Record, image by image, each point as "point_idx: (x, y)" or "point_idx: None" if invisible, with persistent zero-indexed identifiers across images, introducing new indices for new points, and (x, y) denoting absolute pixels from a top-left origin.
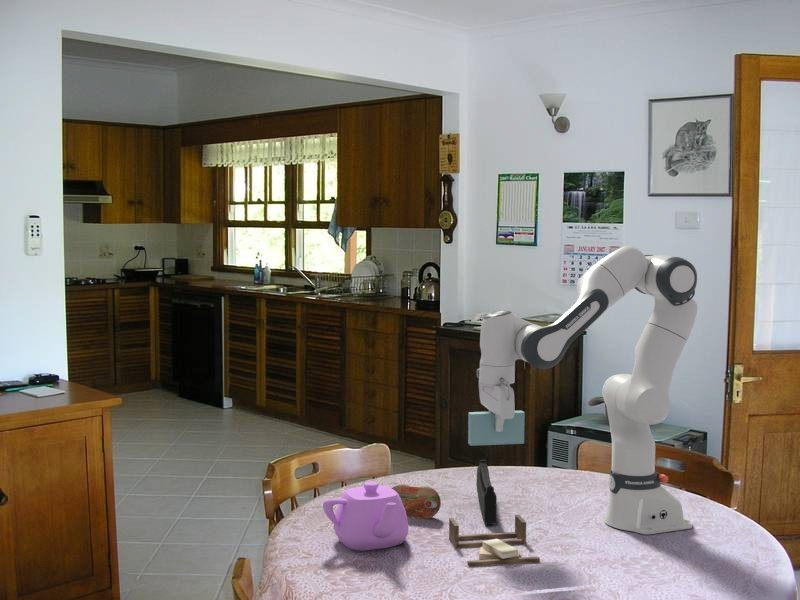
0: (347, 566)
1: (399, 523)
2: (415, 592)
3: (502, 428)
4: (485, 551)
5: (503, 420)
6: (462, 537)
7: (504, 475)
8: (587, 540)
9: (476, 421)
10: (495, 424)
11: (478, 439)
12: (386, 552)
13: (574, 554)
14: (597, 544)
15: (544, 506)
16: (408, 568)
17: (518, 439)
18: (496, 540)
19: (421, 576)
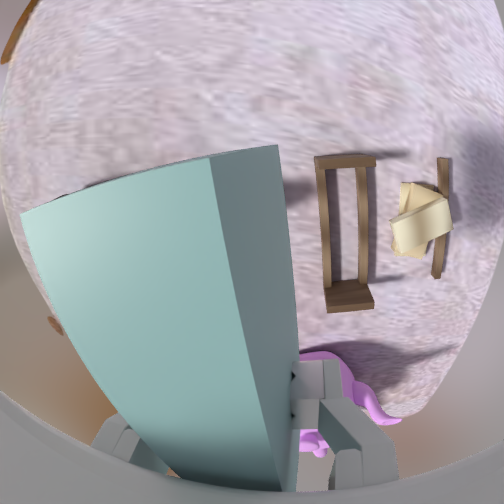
0: (379, 393)
1: (346, 381)
2: (466, 334)
3: (338, 372)
4: (415, 247)
5: (377, 431)
6: (330, 271)
7: (17, 162)
8: (328, 32)
9: (294, 486)
10: (321, 428)
11: None
12: (349, 365)
13: (402, 79)
14: (349, 23)
15: (126, 87)
16: (409, 343)
17: (282, 191)
18: (402, 227)
19: (435, 330)
